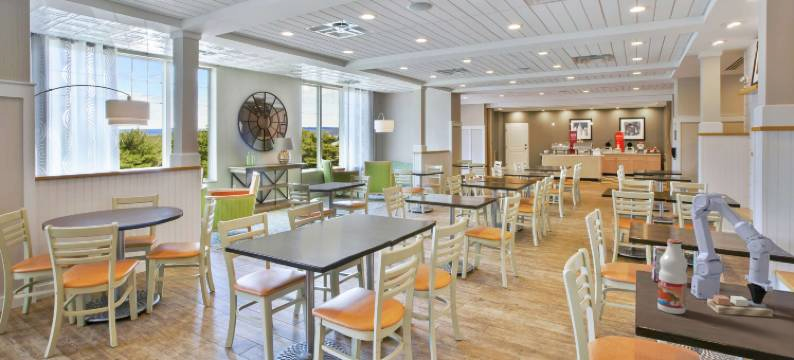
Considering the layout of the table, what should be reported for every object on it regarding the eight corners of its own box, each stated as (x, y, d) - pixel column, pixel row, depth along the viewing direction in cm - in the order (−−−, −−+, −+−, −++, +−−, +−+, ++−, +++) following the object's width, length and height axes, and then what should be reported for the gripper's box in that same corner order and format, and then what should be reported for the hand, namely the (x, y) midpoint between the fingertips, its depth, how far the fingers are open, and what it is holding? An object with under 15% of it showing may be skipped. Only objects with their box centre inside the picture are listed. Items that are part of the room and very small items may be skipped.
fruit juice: (691, 313, 167) (695, 242, 165) (670, 315, 166) (673, 243, 163) (672, 304, 177) (675, 236, 174) (651, 306, 175) (654, 238, 173)
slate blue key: (753, 310, 167) (753, 304, 167) (747, 307, 171) (747, 300, 170) (765, 311, 166) (765, 305, 166) (759, 307, 170) (759, 301, 170)
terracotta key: (718, 304, 169) (718, 298, 169) (713, 300, 173) (713, 294, 173) (729, 305, 168) (730, 299, 168) (724, 301, 172) (724, 295, 172)
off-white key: (735, 305, 168) (736, 299, 168) (730, 301, 172) (730, 295, 172) (747, 306, 167) (748, 300, 167) (741, 302, 171) (742, 296, 171)
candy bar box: (653, 282, 204) (655, 247, 203) (651, 279, 209) (652, 245, 208) (681, 284, 201) (683, 249, 199) (678, 281, 205) (680, 247, 204)
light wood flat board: (718, 313, 167) (718, 307, 167) (706, 304, 176) (707, 298, 176) (772, 317, 163) (772, 310, 163) (758, 307, 172) (758, 301, 172)
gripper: (783, 275, 159) (781, 311, 160) (759, 264, 173) (757, 297, 174) (761, 274, 160) (758, 310, 162) (739, 263, 175) (737, 296, 176)
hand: (756, 303), depth 168 cm, fingers closed, pressing on slate blue key
